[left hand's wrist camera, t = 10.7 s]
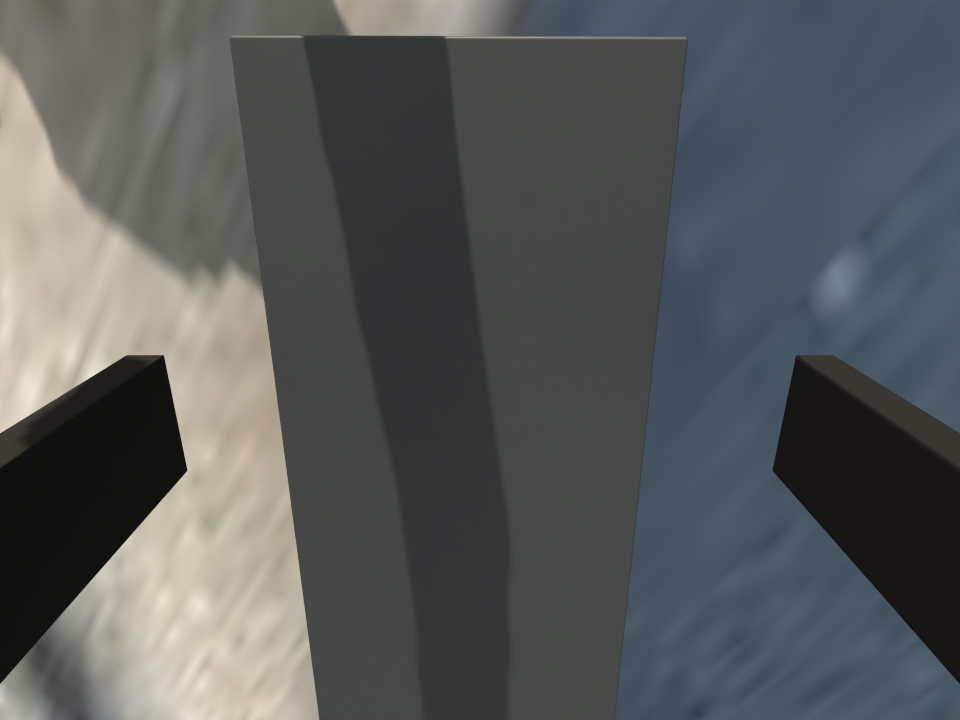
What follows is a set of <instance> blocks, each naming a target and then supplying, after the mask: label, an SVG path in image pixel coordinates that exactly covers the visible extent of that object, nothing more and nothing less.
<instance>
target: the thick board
mask: <svg viewBox="0 0 960 720" xmlns="http://www.w3.org/2000/svg"><path fill="white" fill-rule="evenodd" d="M230 43H231V51H232V58H233V66H234V74H235V81H236V89H237V96H238V104H239V111H240V119H241V127H242V134H243V142H244V149H245V157H246V165H247V172H248V180H249V187H250V195H251V203H252V210H253V218H254V225H255V233H256V241H257V248H258V256H259V263H260V271H261V279H262V286H263V294H264V301H265V309H266V316H267V324H268V332H269V339H270V347H271V354H272V362H273V370H274V377H275V385H276V392H277V400H278V408H279V415H280V423H281V430H282V438H283V446H284V453H285V461H286V468H287V476H288V483H289V491H290V499H291V506H292V514H293V521H294V529H295V537H296V544H297V552H298V559H299V567H300V575H301V582H302V590H303V597H304V605H305V613H306V620H307V628H308V635H309V643H310V651H311V658H312V666H313V673H314V681H315V689H316V696H317V704H318V711H319V719H320V720H615V711H616V701H617V692H618V683H619V674H620V664H621V655H622V646H623V636H624V627H625V618H626V609H627V599H628V590H629V581H630V572H631V562H632V553H633V544H634V534H635V525H636V516H637V507H638V497H639V488H640V479H641V469H642V460H643V451H644V442H645V432H646V423H647V414H648V405H649V395H650V386H651V377H652V367H653V358H654V349H655V340H656V330H657V321H658V312H659V303H660V293H661V284H662V275H663V265H664V256H665V247H666V238H667V228H668V219H669V210H670V200H671V191H672V182H673V173H674V163H675V154H676V145H677V136H678V126H679V117H680V108H681V98H682V89H683V80H684V71H685V61H686V52H687V43H688V39H687V38H686V37H553V36H292V35H232V36H230Z"/></svg>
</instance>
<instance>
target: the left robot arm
mask: <svg viewBox="0 0 960 720" xmlns="http://www.w3.org/2000/svg"><path fill="white" fill-rule="evenodd" d="M186 472H187V466H186V461H185V457H184V452H183V447H182V442H181V437H180V432H179V427H178V422H177V418H176V413H175V408H174V403H173V398H172V393H171V388H170V383H169V379H168V374H167V369H166V364H165V359H164V355H127V356H125V357H123V358H122V359H120V360H119V361H117V362H115V363H114V364H112V365H110V366H109V367H107V368H106V369H104V370H102V371H101V372H99V373H97V374H96V375H94V376H93V377H91V378H89V379H88V380H86V381H84V382H83V383H81V384H80V385H78V386H76V387H75V388H73V389H72V390H70V391H68V392H67V393H65V394H63V395H62V396H60V397H59V398H57V399H55V400H54V401H52V402H50V403H49V404H47V405H46V406H44V407H42V408H41V409H39V410H38V411H36V412H34V413H33V414H31V415H29V416H28V417H26V418H25V419H23V420H21V421H20V422H18V423H16V424H15V425H13V426H12V427H10V428H8V429H7V430H5V431H3V432H2V433H0V683H1V682H2V681H3V680H4V679H5V678H6V677H7V675H8V674H9V673H10V672H11V671H12V670H13V669H14V667H15V666H16V665H17V664H18V663H19V662H20V661H21V660H22V658H23V657H24V656H25V655H26V654H27V653H28V652H29V650H30V649H31V648H32V647H33V646H34V645H35V644H36V642H37V641H38V640H39V639H40V638H41V637H42V636H43V634H44V633H45V632H46V631H47V630H48V629H49V628H50V627H51V625H52V624H53V623H54V622H55V621H56V620H57V619H58V617H59V616H60V615H61V614H62V613H63V612H64V611H65V609H66V608H67V607H68V606H69V605H70V604H71V603H72V601H73V600H74V599H75V598H76V597H77V596H78V595H79V593H80V592H81V591H82V590H83V589H84V588H85V587H86V586H87V584H88V583H89V582H90V581H91V580H92V579H93V578H94V576H95V575H96V574H97V573H98V572H99V571H100V570H101V568H102V567H103V566H104V565H105V564H106V563H107V562H108V560H109V559H110V558H111V557H112V556H113V555H114V554H115V552H116V551H117V550H118V549H119V548H120V547H121V546H122V545H123V543H124V542H125V541H126V540H127V539H128V538H129V537H130V535H131V534H132V533H133V532H134V531H135V530H136V529H137V527H138V526H139V525H140V524H141V523H142V522H143V521H144V519H145V518H146V517H147V516H148V515H149V514H150V513H151V511H152V510H153V509H154V508H155V507H156V506H157V505H158V504H159V502H160V501H161V500H162V499H163V498H164V497H165V496H166V494H167V493H168V492H169V491H170V490H171V489H172V488H173V486H174V485H175V484H176V483H177V482H178V481H179V480H180V478H181V477H182V476H183V475H184V474H185V473H186ZM773 472H774V473H775V474H776V475H777V476H778V477H779V478H780V480H781V481H782V482H783V483H784V484H785V485H786V486H787V488H788V489H789V490H790V491H791V492H792V493H793V494H794V496H795V497H796V498H797V499H798V500H799V501H800V502H801V504H802V505H803V506H804V507H805V508H806V509H807V510H808V511H809V513H810V514H811V515H812V516H813V517H814V518H815V519H816V521H817V522H818V523H819V524H820V525H821V526H822V527H823V529H824V530H825V531H826V532H827V533H828V534H829V535H830V537H831V538H832V539H833V540H834V541H835V542H836V543H837V545H838V546H839V547H840V548H841V549H842V550H843V551H844V552H845V554H846V555H847V556H848V557H849V558H850V559H851V560H852V562H853V563H854V564H855V565H856V566H857V567H858V568H859V570H860V571H861V572H862V573H863V574H864V575H865V576H866V578H867V579H868V580H869V581H870V582H871V583H872V584H873V586H874V587H875V588H876V589H877V590H878V591H879V592H880V593H881V595H882V596H883V597H884V598H885V599H886V600H887V601H888V603H889V604H890V605H891V606H892V607H893V608H894V609H895V611H896V612H897V613H898V614H899V615H900V616H901V617H902V619H903V620H904V621H905V622H906V623H907V624H908V625H909V627H910V628H911V629H912V630H913V631H914V632H915V633H916V634H917V636H918V637H919V638H920V639H921V640H922V641H923V642H924V644H925V645H926V646H927V647H928V648H929V649H930V650H931V652H932V653H933V654H934V655H935V656H936V657H937V658H938V660H939V661H940V662H941V663H942V664H943V665H944V666H945V667H946V669H947V670H948V671H949V672H950V673H951V674H952V675H953V677H954V678H955V679H956V680H957V681H958V682H959V683H960V433H958V432H957V431H955V430H953V429H952V428H950V427H948V426H947V425H945V424H944V423H942V422H940V421H939V420H937V419H935V418H934V417H932V416H931V415H929V414H927V413H926V412H924V411H922V410H921V409H919V408H918V407H916V406H914V405H913V404H911V403H910V402H908V401H906V400H905V399H903V398H901V397H900V396H898V395H897V394H895V393H893V392H892V391H890V390H888V389H887V388H885V387H884V386H882V385H880V384H879V383H877V382H876V381H874V380H872V379H871V378H869V377H867V376H866V375H864V374H863V373H861V372H859V371H858V370H856V369H854V368H853V367H851V366H850V365H848V364H846V363H845V362H843V361H841V360H840V359H838V358H837V357H835V356H833V355H796V359H795V364H794V369H793V374H792V379H791V383H790V388H789V393H788V398H787V403H786V408H785V413H784V418H783V422H782V427H781V432H780V437H779V442H778V447H777V452H776V457H775V461H774V466H773Z"/></svg>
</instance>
